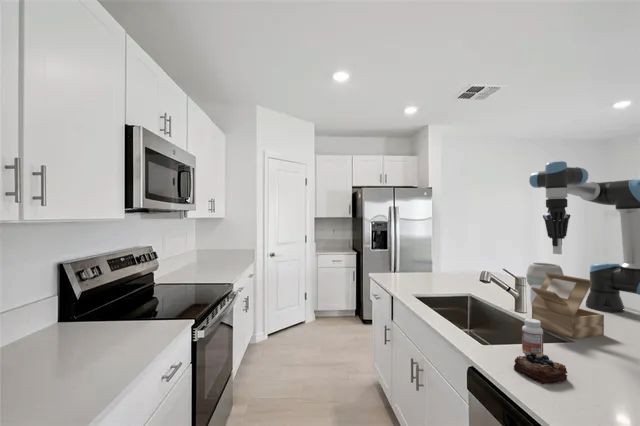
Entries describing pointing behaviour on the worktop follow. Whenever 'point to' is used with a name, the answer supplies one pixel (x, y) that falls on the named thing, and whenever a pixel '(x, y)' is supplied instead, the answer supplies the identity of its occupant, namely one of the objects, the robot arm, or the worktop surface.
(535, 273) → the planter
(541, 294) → the lid
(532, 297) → the mug
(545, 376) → the pastry
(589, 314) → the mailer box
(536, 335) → the pill bottle
